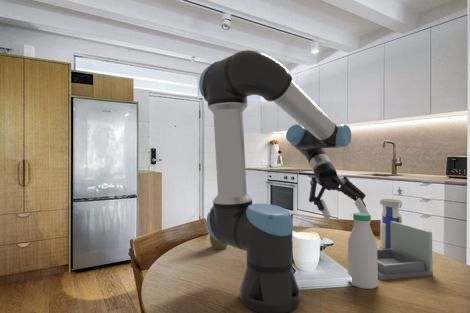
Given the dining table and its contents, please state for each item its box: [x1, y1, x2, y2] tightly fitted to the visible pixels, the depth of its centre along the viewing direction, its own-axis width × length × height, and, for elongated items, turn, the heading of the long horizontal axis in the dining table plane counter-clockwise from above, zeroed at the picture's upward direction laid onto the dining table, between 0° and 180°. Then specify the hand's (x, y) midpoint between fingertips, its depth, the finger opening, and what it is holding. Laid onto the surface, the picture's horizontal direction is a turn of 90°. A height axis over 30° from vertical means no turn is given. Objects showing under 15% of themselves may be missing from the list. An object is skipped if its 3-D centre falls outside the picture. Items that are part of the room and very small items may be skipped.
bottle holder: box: [377, 221, 434, 281], centre depth 90 cm, size 18×16×13 cm
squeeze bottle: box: [209, 234, 228, 250], centre depth 112 cm, size 8×8×18 cm
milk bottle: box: [347, 212, 379, 290], centre depth 79 cm, size 8×8×20 cm
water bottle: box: [379, 187, 403, 249], centre depth 111 cm, size 8×9×25 cm
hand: (347, 217), depth 87 cm, fingers open, 13 cm apart
